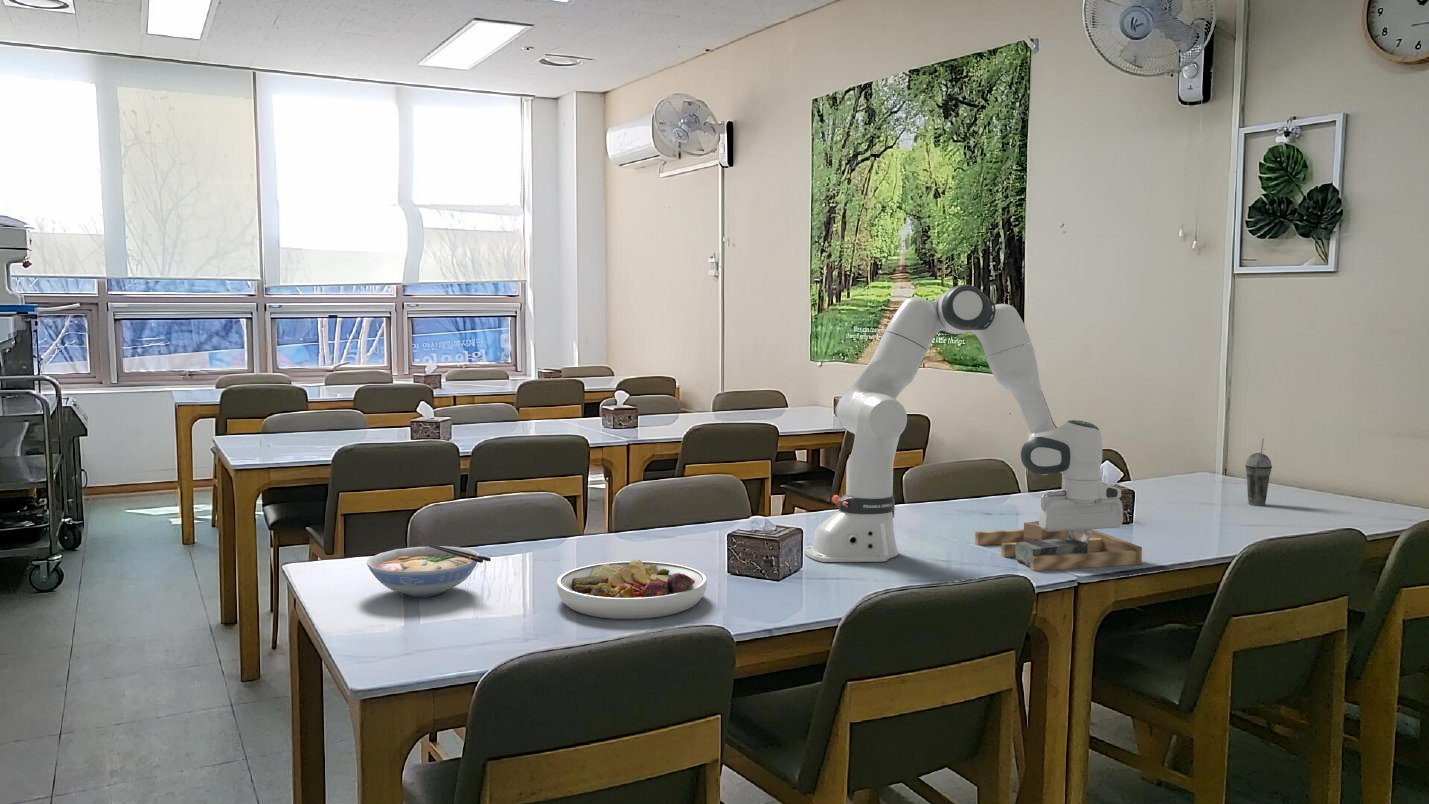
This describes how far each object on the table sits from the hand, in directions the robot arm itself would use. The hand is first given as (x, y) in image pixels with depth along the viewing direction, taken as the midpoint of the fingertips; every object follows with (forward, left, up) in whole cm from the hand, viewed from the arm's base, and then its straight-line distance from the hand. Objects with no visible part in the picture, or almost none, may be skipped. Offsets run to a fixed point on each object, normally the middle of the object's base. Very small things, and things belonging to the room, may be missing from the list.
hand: (1080, 548), depth 256 cm
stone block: (-9, -1, -3) cm, 9 cm away
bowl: (-108, -12, -3) cm, 109 cm away
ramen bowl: (-149, +4, -3) cm, 149 cm away
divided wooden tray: (-3, +7, -3) cm, 8 cm away
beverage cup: (+91, +51, -3) cm, 104 cm away
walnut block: (-2, +14, -3) cm, 14 cm away
